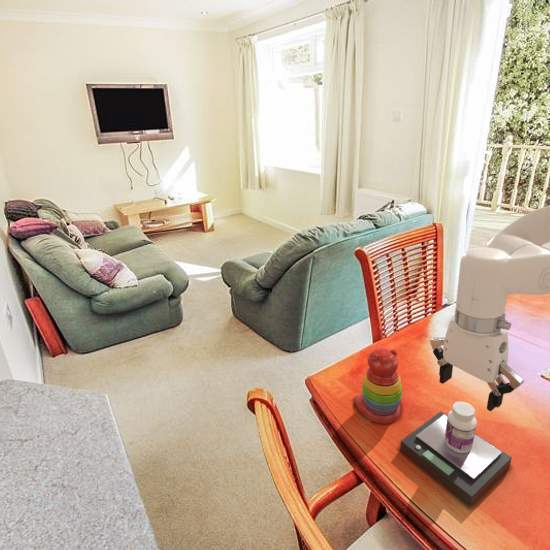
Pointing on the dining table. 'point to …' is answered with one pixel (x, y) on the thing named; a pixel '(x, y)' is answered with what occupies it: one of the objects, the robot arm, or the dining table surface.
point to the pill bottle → (460, 427)
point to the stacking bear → (381, 387)
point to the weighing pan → (467, 462)
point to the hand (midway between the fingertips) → (468, 393)
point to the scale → (448, 473)
